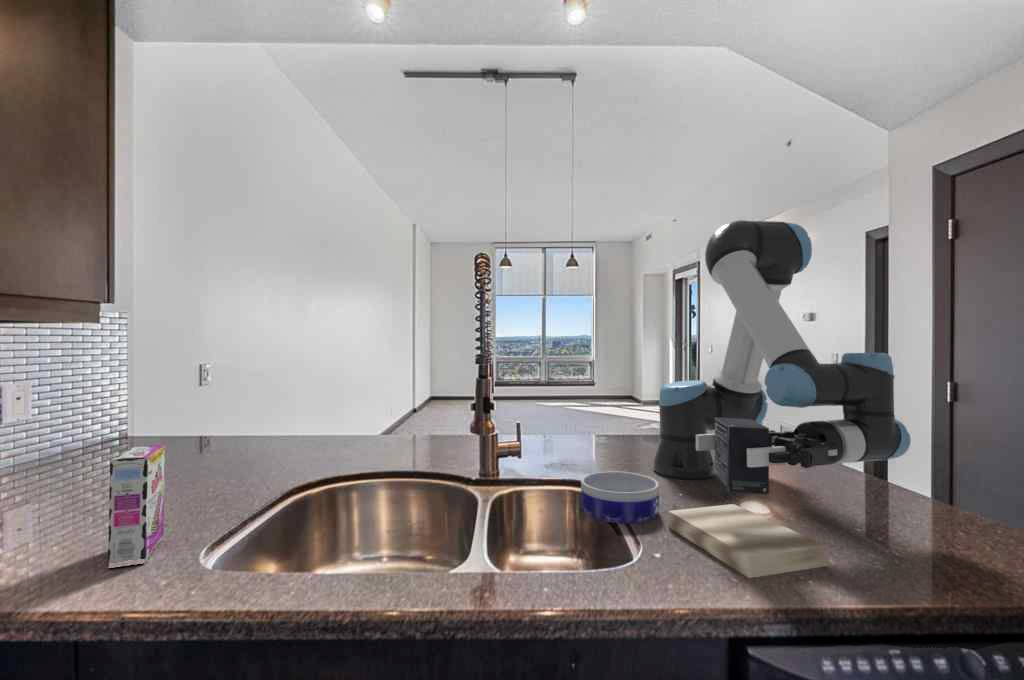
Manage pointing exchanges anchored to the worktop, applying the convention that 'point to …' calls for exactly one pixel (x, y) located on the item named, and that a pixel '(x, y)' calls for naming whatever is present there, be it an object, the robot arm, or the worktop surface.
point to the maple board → (747, 540)
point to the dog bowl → (620, 497)
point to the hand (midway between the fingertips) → (720, 449)
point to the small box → (740, 455)
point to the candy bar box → (136, 503)
